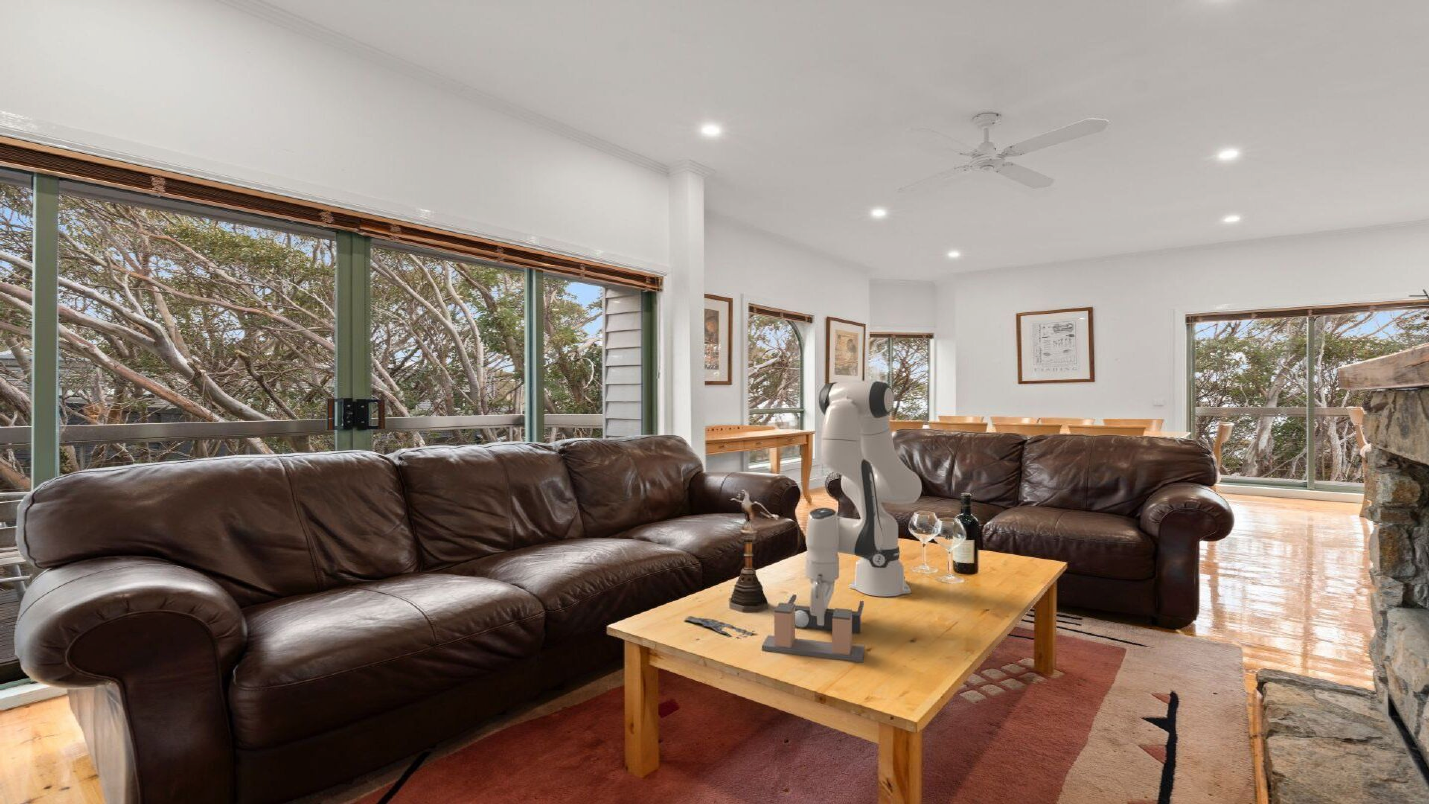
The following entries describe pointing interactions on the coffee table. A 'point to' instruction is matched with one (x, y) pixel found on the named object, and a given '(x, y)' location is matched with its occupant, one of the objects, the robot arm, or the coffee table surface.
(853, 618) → the glasses
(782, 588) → the coffee table surface
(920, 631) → the coffee table surface
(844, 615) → the stand
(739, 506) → the bird statue
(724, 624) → the driftwood
